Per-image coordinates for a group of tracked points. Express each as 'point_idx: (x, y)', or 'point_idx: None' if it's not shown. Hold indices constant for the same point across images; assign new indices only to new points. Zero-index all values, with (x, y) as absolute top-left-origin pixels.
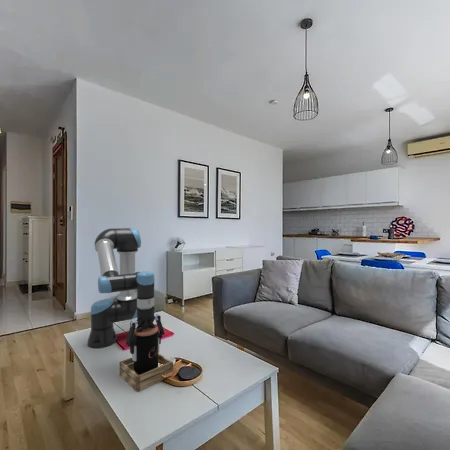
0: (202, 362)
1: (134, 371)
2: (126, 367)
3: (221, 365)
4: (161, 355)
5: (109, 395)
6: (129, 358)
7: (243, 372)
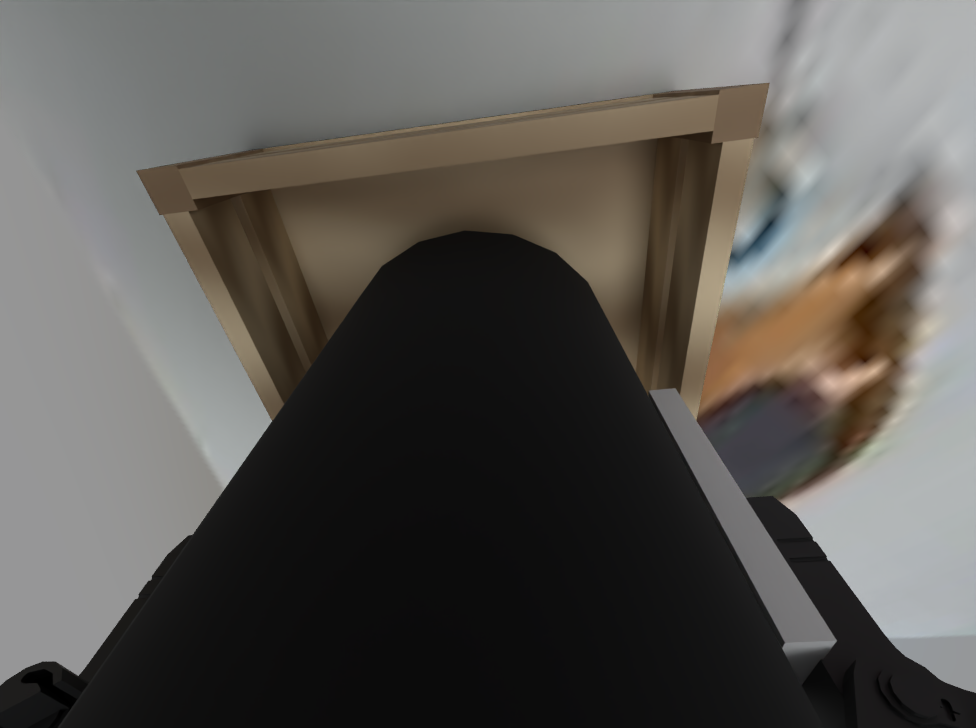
0: (933, 414)
1: (392, 230)
2: (247, 369)
3: (948, 505)
4: (700, 360)
5: (183, 391)
6: (297, 160)
7: (919, 592)
